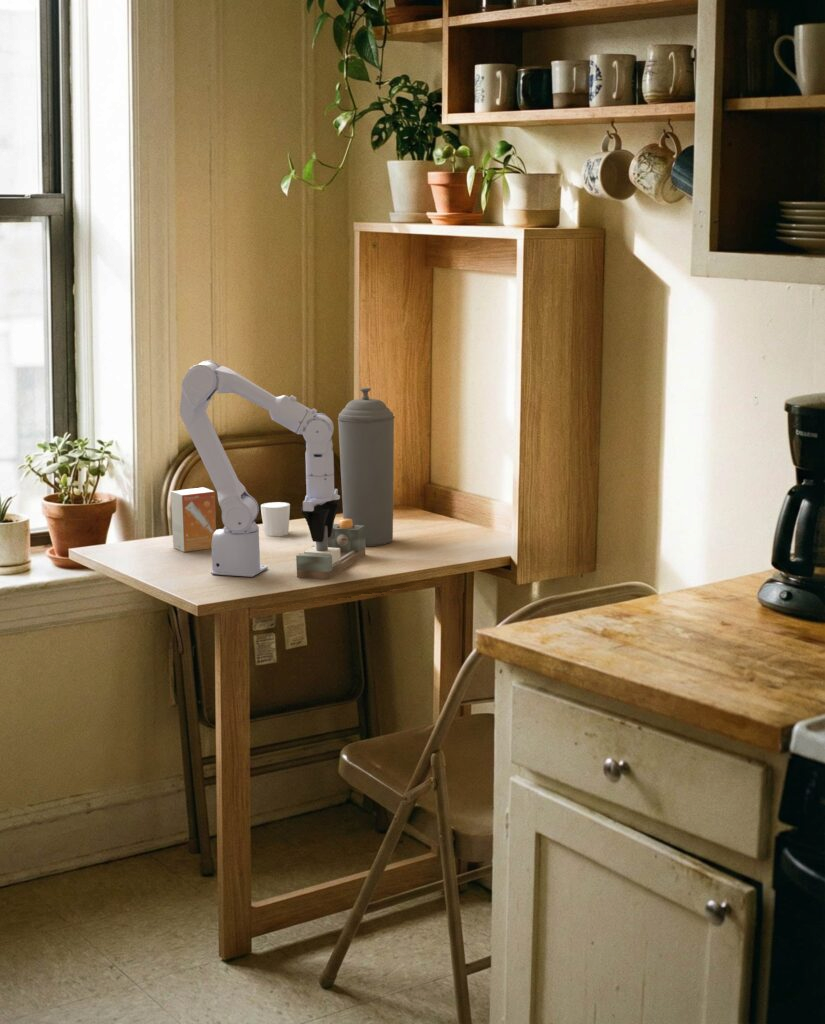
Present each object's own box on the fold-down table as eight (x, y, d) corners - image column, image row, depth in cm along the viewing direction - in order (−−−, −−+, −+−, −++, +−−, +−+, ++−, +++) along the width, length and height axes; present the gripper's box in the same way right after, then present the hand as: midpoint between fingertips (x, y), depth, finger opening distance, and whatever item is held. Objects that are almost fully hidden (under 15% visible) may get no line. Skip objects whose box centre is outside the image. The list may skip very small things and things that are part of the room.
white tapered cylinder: (275, 529, 322) (274, 500, 320) (297, 532, 318) (296, 503, 316) (255, 534, 316) (254, 505, 315) (277, 538, 312) (276, 508, 311)
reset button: (337, 534, 292) (337, 520, 291) (342, 531, 294) (342, 518, 294) (350, 535, 291) (349, 521, 290) (354, 532, 294) (354, 518, 293)
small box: (184, 552, 299) (181, 494, 296) (172, 547, 304) (169, 490, 302) (217, 547, 303) (215, 490, 301) (205, 542, 309) (203, 486, 306)
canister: (376, 550, 298) (373, 392, 291) (329, 544, 305) (325, 389, 298) (407, 539, 309) (405, 386, 302) (361, 533, 316) (357, 383, 308)
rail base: (296, 576, 276) (295, 545, 275) (335, 552, 297) (334, 523, 295) (328, 579, 274) (328, 547, 273) (365, 554, 295) (364, 525, 293)
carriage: (304, 563, 278) (303, 528, 277) (313, 557, 283) (312, 523, 282) (331, 564, 277) (330, 529, 275) (340, 559, 281) (339, 524, 280)
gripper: (325, 481, 268) (327, 547, 271) (350, 468, 282) (352, 532, 285) (292, 479, 270) (294, 545, 273) (319, 467, 284) (320, 530, 287)
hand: (321, 539), depth 279 cm, fingers open, 4 cm apart
